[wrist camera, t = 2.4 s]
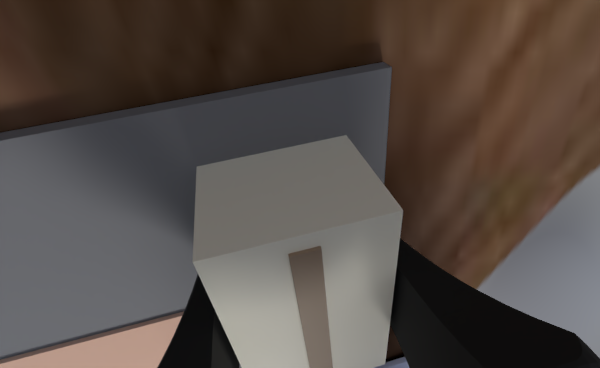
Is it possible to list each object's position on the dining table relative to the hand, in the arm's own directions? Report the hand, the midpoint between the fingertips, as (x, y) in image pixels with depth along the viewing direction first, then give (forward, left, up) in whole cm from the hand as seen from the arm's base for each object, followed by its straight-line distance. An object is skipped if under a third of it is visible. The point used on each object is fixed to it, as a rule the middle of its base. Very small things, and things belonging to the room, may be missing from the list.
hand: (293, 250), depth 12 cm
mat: (-4, +5, -1) cm, 7 cm away
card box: (0, 0, -1) cm, 1 cm away
